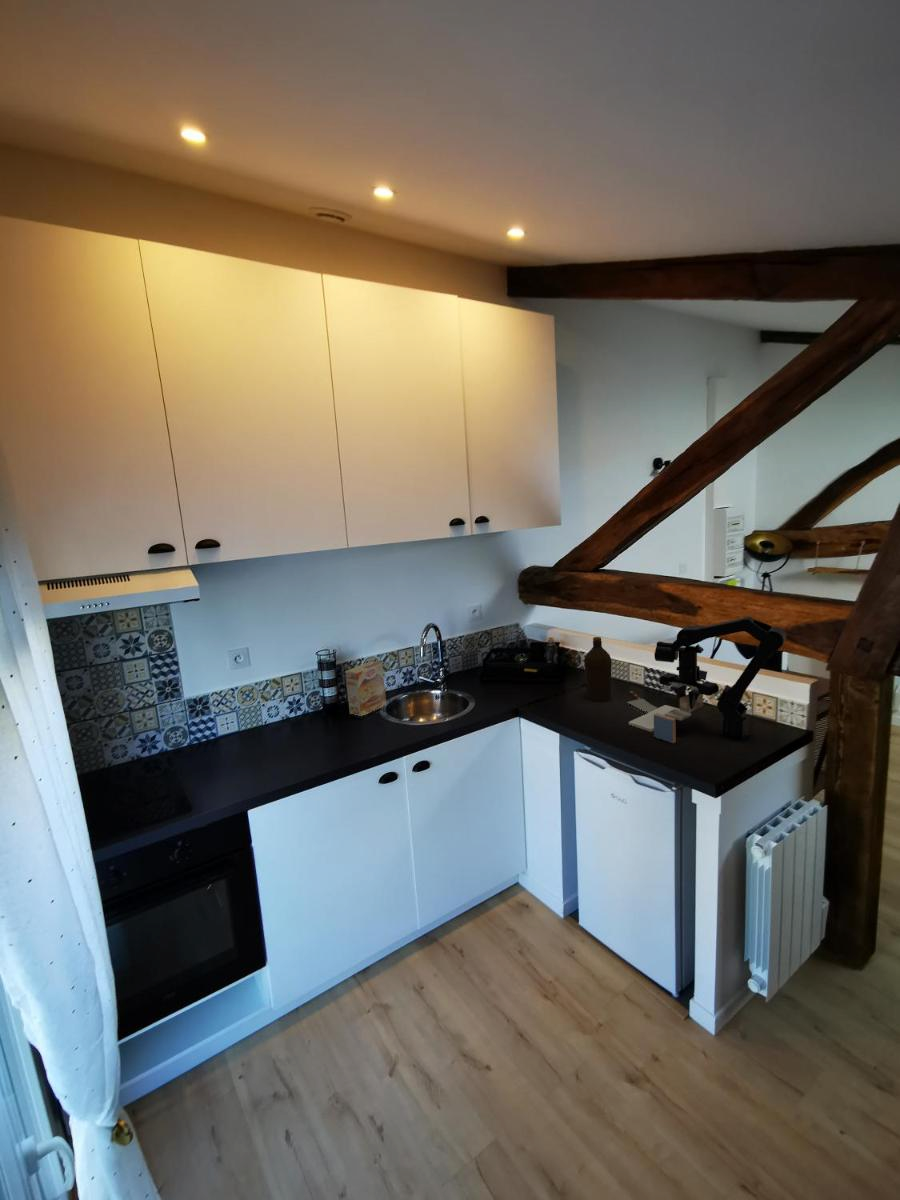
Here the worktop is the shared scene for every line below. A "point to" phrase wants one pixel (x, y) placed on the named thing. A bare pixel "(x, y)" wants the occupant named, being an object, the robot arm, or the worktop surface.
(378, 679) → the coffeecake box
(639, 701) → the kitchen cleaver
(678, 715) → the turner
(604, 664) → the olive oil
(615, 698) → the worktop surface
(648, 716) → the rest board
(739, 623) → the robot arm
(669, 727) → the tile
